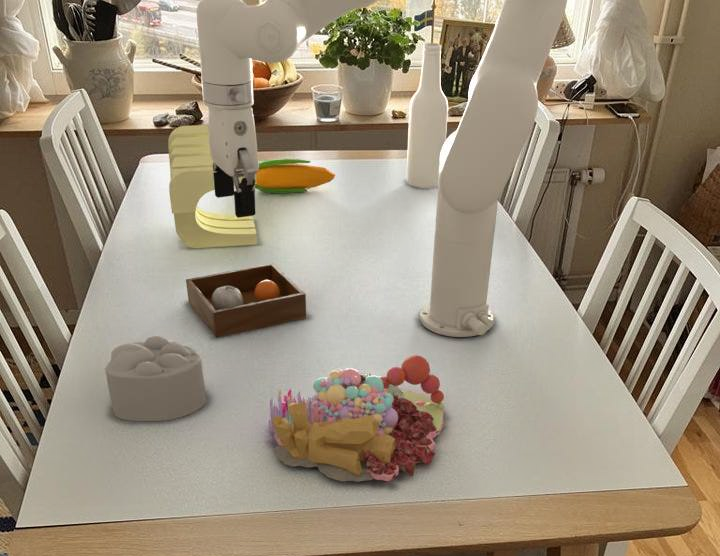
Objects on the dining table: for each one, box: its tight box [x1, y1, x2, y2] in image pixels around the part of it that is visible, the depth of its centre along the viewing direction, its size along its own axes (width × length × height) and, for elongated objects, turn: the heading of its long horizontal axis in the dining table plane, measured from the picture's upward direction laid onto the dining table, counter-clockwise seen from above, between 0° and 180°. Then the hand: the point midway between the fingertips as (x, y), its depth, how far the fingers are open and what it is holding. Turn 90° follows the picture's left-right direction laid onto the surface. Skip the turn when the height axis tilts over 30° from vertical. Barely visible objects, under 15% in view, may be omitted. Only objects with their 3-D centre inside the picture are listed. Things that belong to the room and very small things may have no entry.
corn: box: [254, 158, 336, 194], centre depth 195 cm, size 7×8×20 cm
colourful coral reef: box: [268, 354, 445, 483], centre depth 115 cm, size 25×24×9 cm
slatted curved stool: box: [167, 124, 259, 249], centre depth 170 cm, size 30×16×18 cm, turn 11°
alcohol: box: [405, 42, 449, 189], centre depth 194 cm, size 9×9×30 cm
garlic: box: [212, 286, 243, 310], centre depth 145 cm, size 6×5×5 cm
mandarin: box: [255, 280, 280, 302], centre depth 148 cm, size 4×4×4 cm
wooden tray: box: [185, 262, 307, 338], centre depth 147 cm, size 14×16×4 cm
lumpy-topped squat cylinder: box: [104, 335, 207, 422], centre depth 122 cm, size 10×13×9 cm
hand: (234, 205), depth 137 cm, fingers open, 9 cm apart
